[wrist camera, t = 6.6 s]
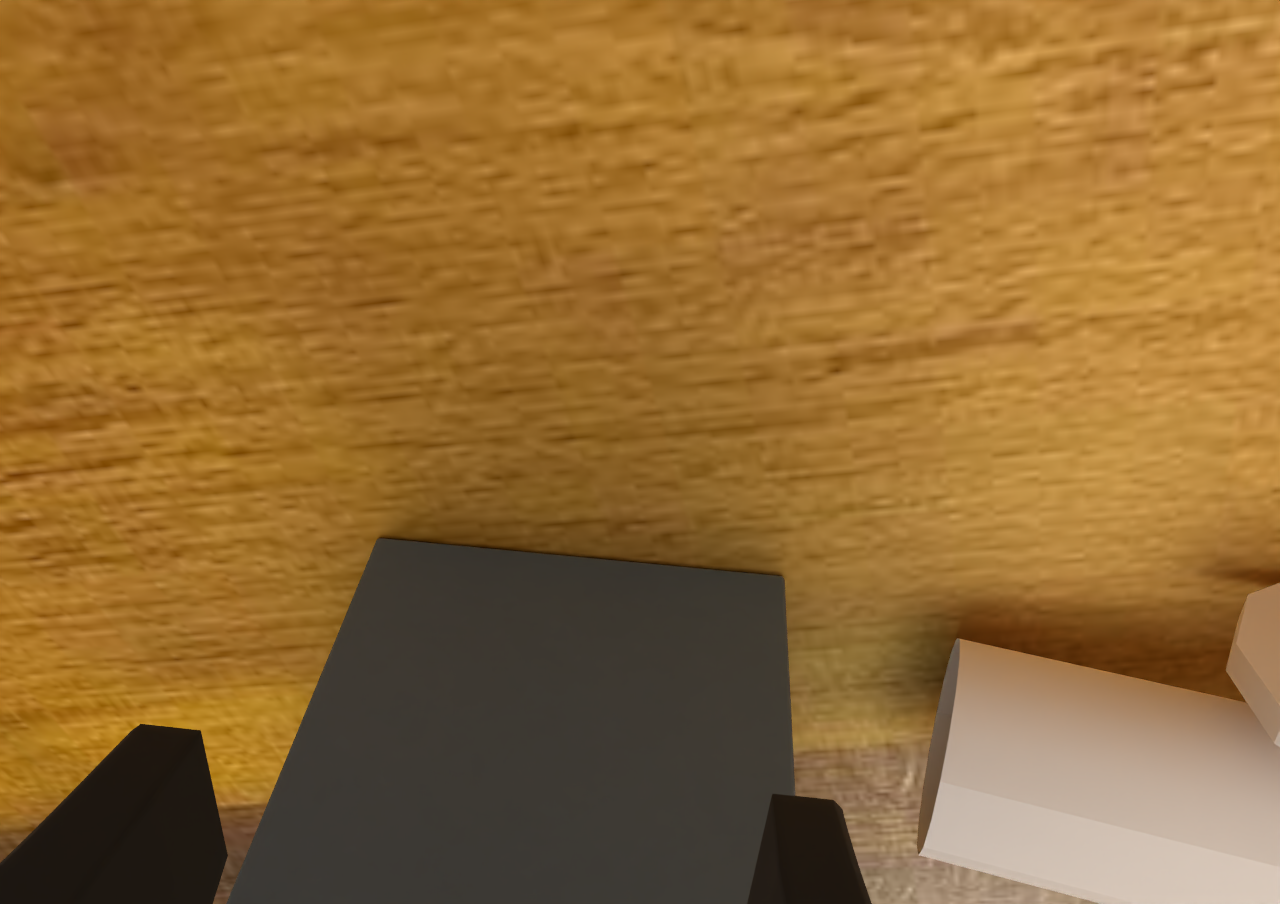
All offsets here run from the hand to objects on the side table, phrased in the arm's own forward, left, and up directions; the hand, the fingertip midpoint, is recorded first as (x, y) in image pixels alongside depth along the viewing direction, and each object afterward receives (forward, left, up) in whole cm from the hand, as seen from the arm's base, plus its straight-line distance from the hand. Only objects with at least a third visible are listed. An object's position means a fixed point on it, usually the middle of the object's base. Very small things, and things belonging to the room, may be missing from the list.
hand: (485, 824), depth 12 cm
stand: (0, -8, -10) cm, 13 cm away
